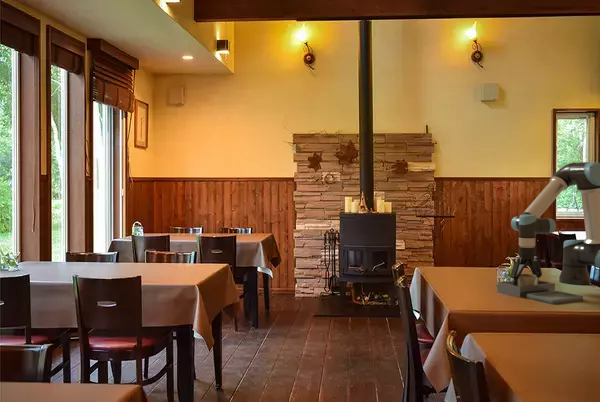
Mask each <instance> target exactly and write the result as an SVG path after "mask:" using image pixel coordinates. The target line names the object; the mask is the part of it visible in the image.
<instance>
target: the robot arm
mask: <svg viewBox="0 0 600 402" xmlns="http://www.w3.org/2000/svg"><path fill="white" fill-rule="evenodd" d="M571 186H576V189H577V191H578V192H580V196H581V203H582V214H583V220H584V221H583V222H584V228H585V239H569V240H568V239H567V240H564V241H563V247H562V269H561V271H560V274H559V276H558V278H559V279H558V282H560V283H563V284H568V285H569V284H570V285H591V278H590V275H589V271H588V266H593V267H597V268H600V162H595V161H584V162H583V161H580V162H570V163H568V164H565V165H563V166H562V167H560V168H559V169H558V170H557V171H556V172H555V173H554V174H553V175H552V176H551V177H550V178H549V182H548V184H547V185H545V187H544V188H543V189H542V191H541V192H540V193H538V195H537V196H536V198H535V199H534V200H533V201H531V203H530V204H529V206H528V207H527V208H526V209H525V210H524V211H523V213H521V214H520V215H517V216H513V218H512V219H511V221H510V227H511V228H512V229H513V230H514V231H517V232H518V246H519V247H518V255H519V257H514V259H513V265H512V268H511V272H510V275H509V277H510V278H511V279H513V280H514V284H513V285H516V286H520V279H518V278H519V277H520V275H521V274H523V273H522V272H523V270H524V269H525V268H526V267H528V268H529V269H530V271H531V273H532V275H536V276H537V277H536V280H535V283H534V285H538V281H539V280H540V279H539V278H541V277H542V276H543V272H542V269H541V268H542V267H541V265H540V258H539V256H535V255H536V248H535V247H536V235H539V234H540V235H548V234H552V233H554V232H555V231H556V229H557V228H556V227H557V225H556V224H557V223H556V221H555V220H554V218H553V219H552V218H548V217H545V218H541V216H542V215H543V214H544V213H545V212H546V211H547V209H548V208H549V207H550V206H551V205H552V204H553V203H554V201H555V200H556V199H557V198H558V197H559V195H560V194H561V193H562V192H563V191H567V189H568V188H569V187H571Z"/></svg>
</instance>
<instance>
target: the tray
mask: <svg viewBox="0 0 600 402" xmlns="http://www.w3.org/2000/svg"><path fill="white" fill-rule="evenodd" d="M526 299H528V300H533V301H536V302H541V303H546V304H549V305H555V304H565V303H573V302H580V301H582V302H583V301H584V295H580V294H575V293H570V292H565V291H561V290H555V291H550V292H540V293H531V294H527V297H526Z"/></svg>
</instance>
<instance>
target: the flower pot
mask: <svg viewBox="0 0 600 402" xmlns="http://www.w3.org/2000/svg"><path fill="white" fill-rule="evenodd" d="M536 277H537V276H536V275H533V273H532V274H530V273H521V275H520V277H519V278H518V279H520V286H528V285H534V283H535V280H536Z"/></svg>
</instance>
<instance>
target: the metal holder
mask: <svg viewBox="0 0 600 402" xmlns="http://www.w3.org/2000/svg"><path fill="white" fill-rule="evenodd" d="M513 284H514V279H513V280H504V281H497V283H496V285H497V288H496V291H497V293H499V294H503V295H509V296H512V297H516V298H527V294H531V293H540V292H550V291H556V283H555V282H550V281H545V280H540V279H539V281H538V285H528V286H516V285H513Z"/></svg>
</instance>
